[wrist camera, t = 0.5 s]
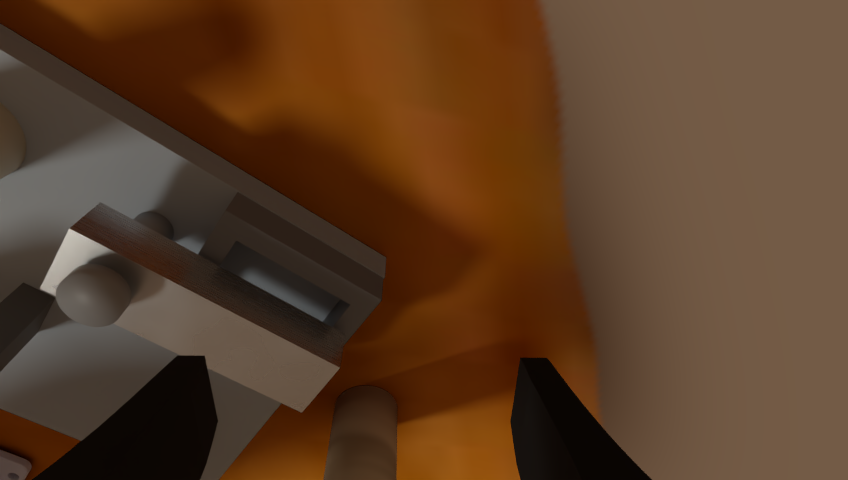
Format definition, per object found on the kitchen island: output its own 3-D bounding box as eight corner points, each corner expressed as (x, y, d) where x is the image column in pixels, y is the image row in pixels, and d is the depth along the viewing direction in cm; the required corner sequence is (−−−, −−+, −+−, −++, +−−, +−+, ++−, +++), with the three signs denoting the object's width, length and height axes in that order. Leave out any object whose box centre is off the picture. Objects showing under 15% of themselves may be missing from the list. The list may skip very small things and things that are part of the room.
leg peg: (374, 439, 27) (367, 559, 22) (322, 414, 26) (301, 533, 21) (409, 403, 26) (410, 520, 21) (356, 375, 25) (344, 490, 20)
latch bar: (71, 258, 18) (39, 288, 16) (100, 201, 17) (69, 228, 15) (309, 376, 21) (301, 412, 19) (345, 334, 20) (340, 367, 18)
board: (218, 465, 28) (159, 629, 21) (-162, 307, 22) (-399, 458, 16) (386, 257, 22) (377, 390, 15) (-67, -17, 17) (-370, 7, 10)
